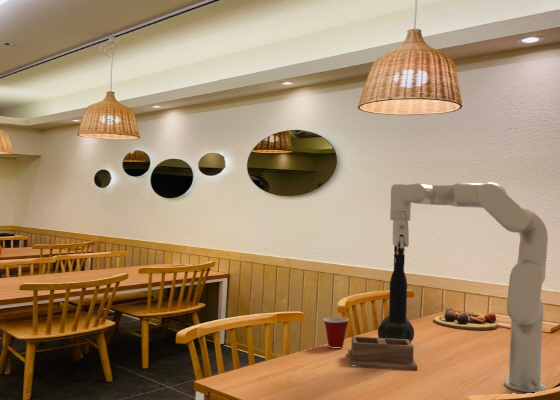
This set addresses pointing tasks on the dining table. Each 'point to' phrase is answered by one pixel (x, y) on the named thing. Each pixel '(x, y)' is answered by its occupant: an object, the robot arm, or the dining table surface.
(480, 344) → the dining table surface
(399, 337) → the squash
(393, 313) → the wine bottle
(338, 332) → the plastic cup
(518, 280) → the robot arm
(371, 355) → the bottle rack
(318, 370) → the dining table surface
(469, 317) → the wooden plate with food
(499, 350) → the dining table surface
